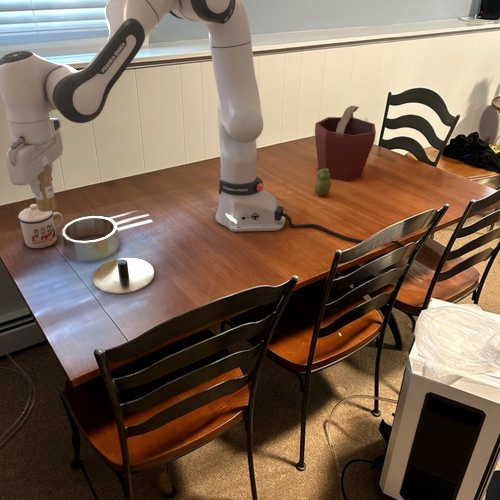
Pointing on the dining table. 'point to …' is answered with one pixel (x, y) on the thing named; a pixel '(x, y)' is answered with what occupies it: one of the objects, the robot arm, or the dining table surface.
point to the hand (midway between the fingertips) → (42, 186)
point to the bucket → (344, 144)
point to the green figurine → (323, 182)
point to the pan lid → (123, 276)
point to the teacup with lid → (39, 227)
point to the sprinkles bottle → (45, 190)
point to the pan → (95, 247)
